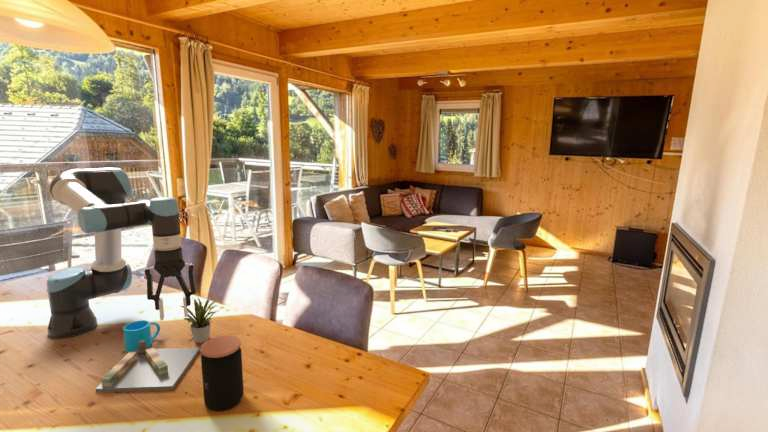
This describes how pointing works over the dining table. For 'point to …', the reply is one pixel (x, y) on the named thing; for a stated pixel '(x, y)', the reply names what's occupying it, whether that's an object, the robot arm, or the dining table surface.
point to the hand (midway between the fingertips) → (174, 316)
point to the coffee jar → (222, 372)
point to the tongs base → (123, 365)
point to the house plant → (200, 321)
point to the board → (154, 372)
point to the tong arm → (156, 361)
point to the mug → (138, 334)
